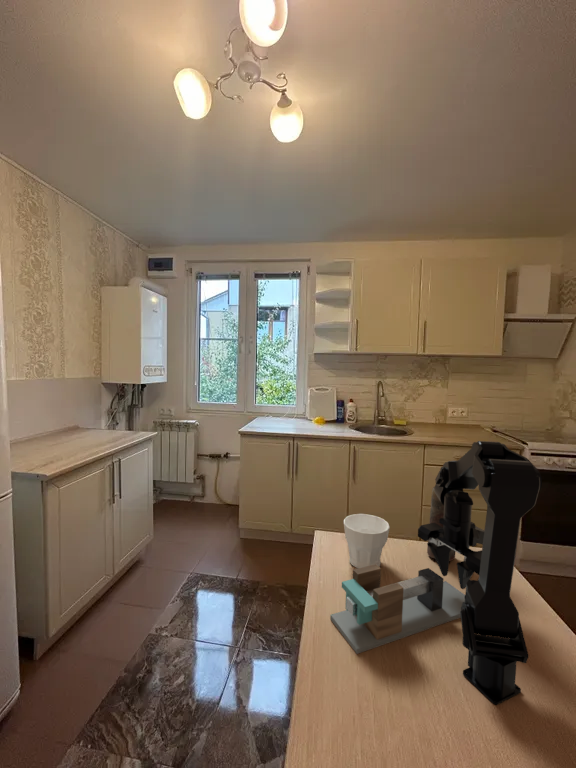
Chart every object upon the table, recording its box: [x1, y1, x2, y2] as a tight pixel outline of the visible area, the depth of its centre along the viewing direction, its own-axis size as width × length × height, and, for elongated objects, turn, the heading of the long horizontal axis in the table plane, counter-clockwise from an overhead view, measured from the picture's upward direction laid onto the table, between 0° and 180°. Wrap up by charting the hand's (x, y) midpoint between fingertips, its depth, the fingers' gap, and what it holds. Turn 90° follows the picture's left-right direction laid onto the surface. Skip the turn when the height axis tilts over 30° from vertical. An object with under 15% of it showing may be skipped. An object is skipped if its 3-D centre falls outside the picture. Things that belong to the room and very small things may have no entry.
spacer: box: [341, 578, 378, 625], centre depth 73 cm, size 8×3×5 cm, turn 23°
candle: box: [426, 486, 457, 562], centre depth 102 cm, size 8×7×20 cm
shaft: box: [345, 567, 444, 616], centre depth 77 cm, size 4×23×7 cm, turn 113°
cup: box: [343, 513, 390, 569], centre depth 99 cm, size 12×12×11 cm
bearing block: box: [352, 564, 403, 640], centre depth 75 cm, size 9×6×10 cm, turn 23°
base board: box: [329, 580, 466, 655], centre depth 79 cm, size 10×33×1 cm, turn 113°
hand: (453, 581), depth 84 cm, fingers open, 5 cm apart
